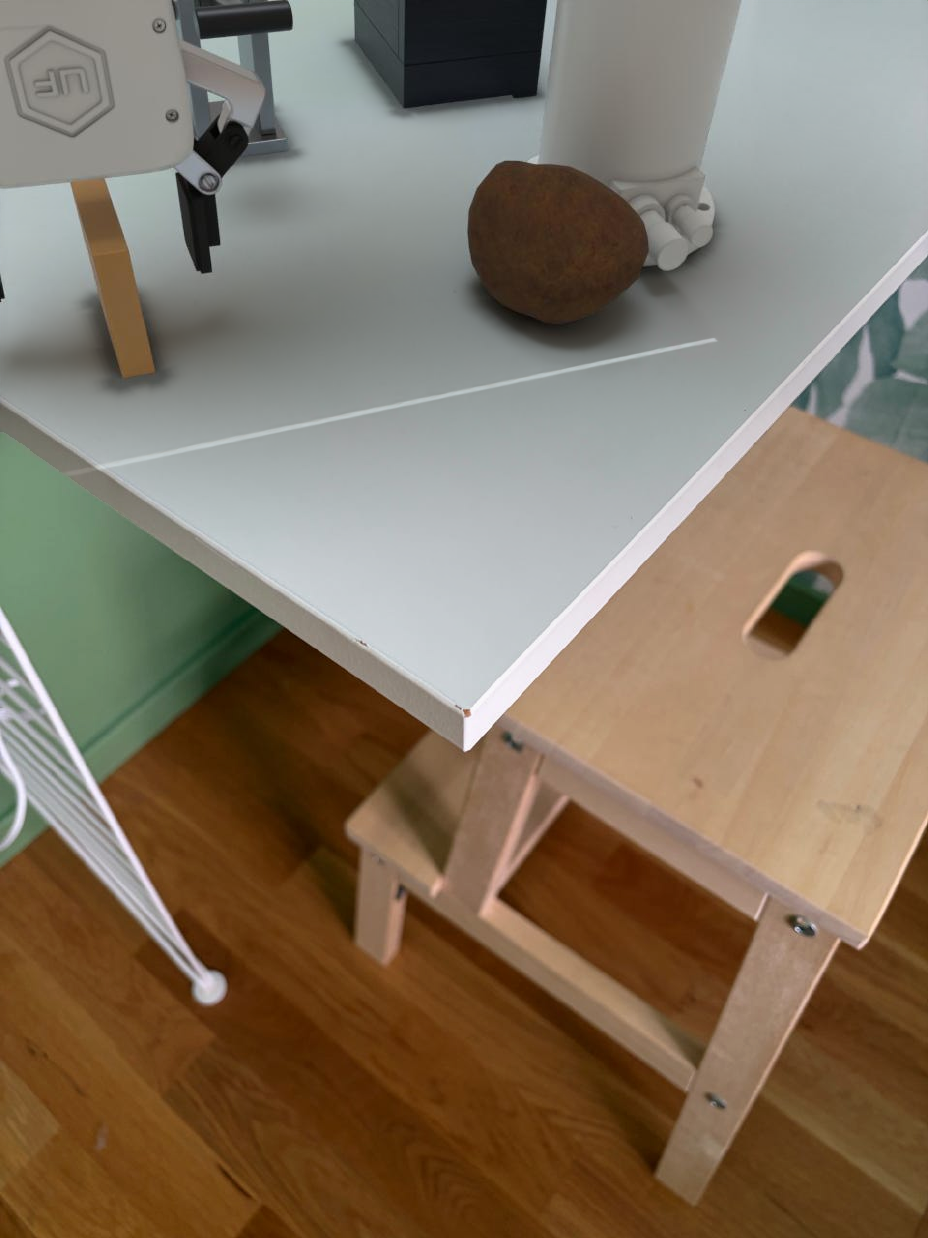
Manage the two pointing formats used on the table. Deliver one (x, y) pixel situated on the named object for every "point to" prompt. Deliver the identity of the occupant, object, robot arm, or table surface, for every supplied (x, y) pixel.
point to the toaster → (452, 47)
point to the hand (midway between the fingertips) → (99, 272)
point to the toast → (113, 276)
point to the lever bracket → (266, 127)
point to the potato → (553, 241)
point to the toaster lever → (240, 18)
